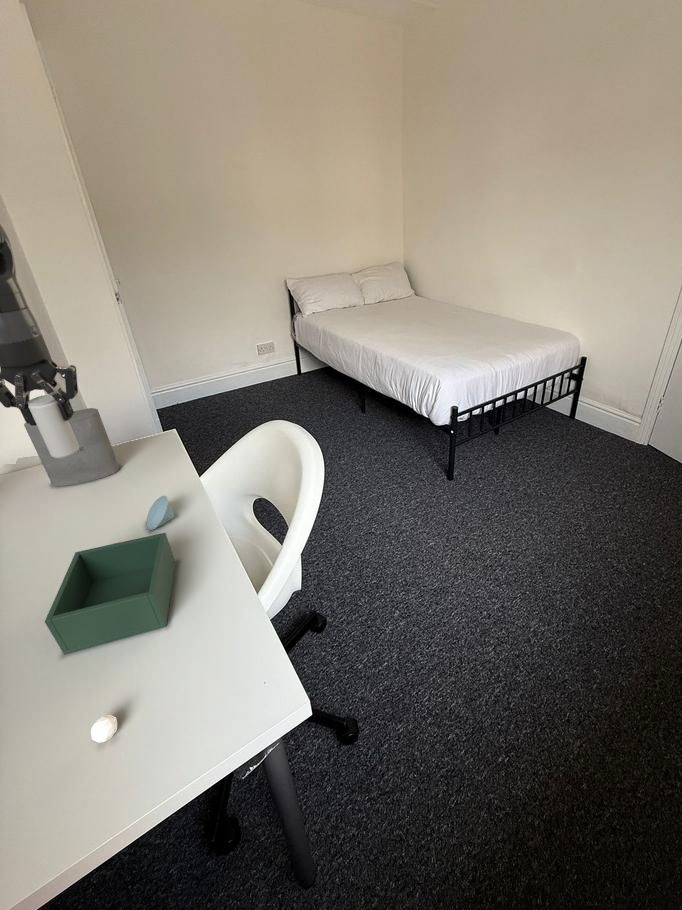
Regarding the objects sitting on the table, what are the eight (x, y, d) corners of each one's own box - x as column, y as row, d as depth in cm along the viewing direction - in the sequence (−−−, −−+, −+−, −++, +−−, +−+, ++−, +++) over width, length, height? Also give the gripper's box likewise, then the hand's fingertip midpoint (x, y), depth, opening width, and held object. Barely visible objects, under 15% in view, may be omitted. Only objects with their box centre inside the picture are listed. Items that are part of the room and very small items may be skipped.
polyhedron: (125, 721, 56) (117, 708, 55) (113, 747, 53) (105, 734, 52) (103, 722, 56) (95, 710, 55) (90, 748, 53) (82, 736, 52)
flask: (49, 490, 103) (14, 419, 93) (55, 478, 107) (22, 409, 98) (118, 475, 108) (92, 406, 99) (120, 464, 113) (95, 397, 104)
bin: (64, 655, 65) (44, 622, 61) (90, 583, 77) (75, 552, 73) (166, 626, 69) (153, 594, 65) (175, 562, 81) (165, 532, 77)
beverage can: (46, 457, 83) (20, 402, 77) (69, 445, 86) (47, 392, 81) (62, 461, 81) (37, 406, 75) (86, 449, 85) (64, 395, 79)
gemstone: (183, 493, 95) (161, 487, 92) (186, 516, 90) (164, 510, 86) (163, 517, 96) (142, 512, 93) (166, 541, 91) (143, 536, 87)
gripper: (68, 325, 78) (99, 407, 86) (-25, 334, 74) (16, 419, 81) (54, 336, 71) (89, 423, 79) (-49, 346, 67) (-2, 437, 75)
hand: (51, 421), depth 80 cm, fingers closed on beverage can, 5 cm apart
